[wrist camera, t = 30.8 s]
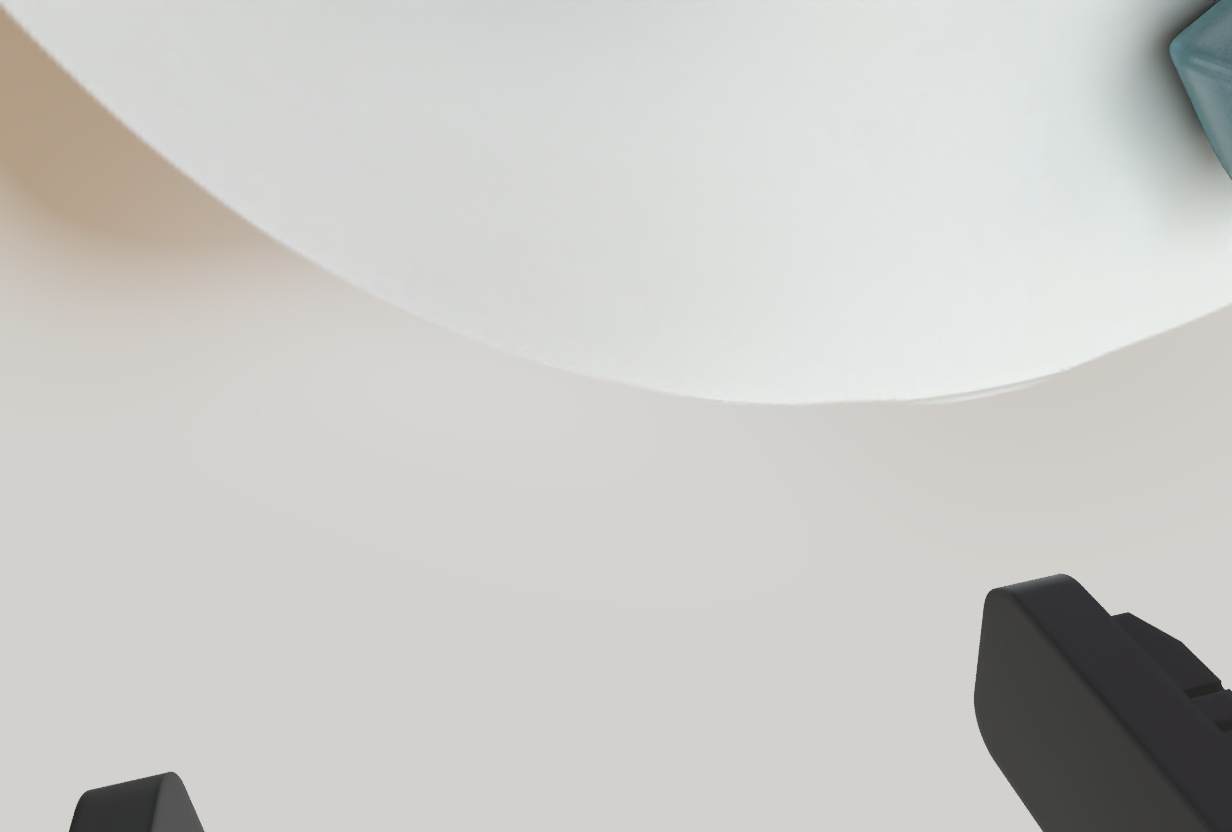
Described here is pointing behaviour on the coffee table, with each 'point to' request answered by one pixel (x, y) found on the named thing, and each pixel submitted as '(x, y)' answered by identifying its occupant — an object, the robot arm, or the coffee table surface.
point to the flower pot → (1209, 74)
